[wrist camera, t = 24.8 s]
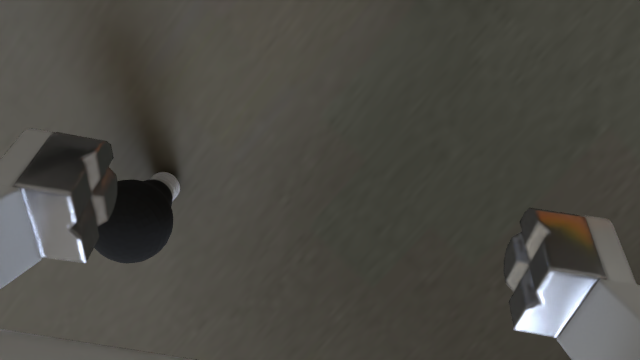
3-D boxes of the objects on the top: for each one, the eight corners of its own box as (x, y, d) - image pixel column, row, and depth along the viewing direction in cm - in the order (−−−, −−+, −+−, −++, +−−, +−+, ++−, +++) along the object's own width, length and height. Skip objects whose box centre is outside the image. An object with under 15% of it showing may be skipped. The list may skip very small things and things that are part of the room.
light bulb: (216, 200, 47) (168, 265, 38) (158, 222, 49) (98, 289, 40) (182, 137, 46) (122, 189, 36) (122, 162, 47) (51, 217, 38)
